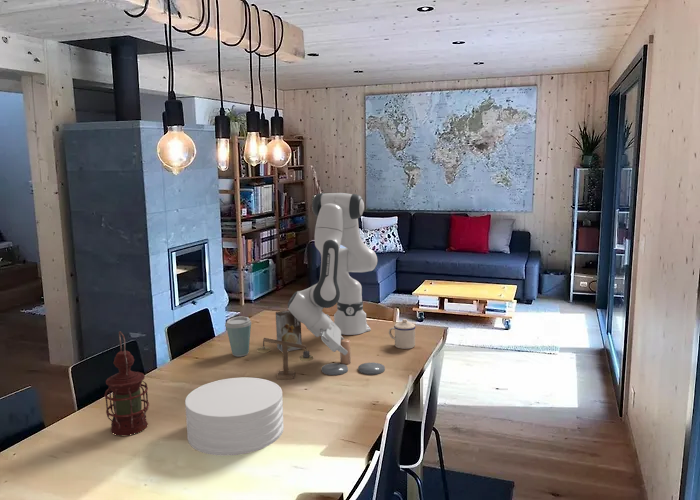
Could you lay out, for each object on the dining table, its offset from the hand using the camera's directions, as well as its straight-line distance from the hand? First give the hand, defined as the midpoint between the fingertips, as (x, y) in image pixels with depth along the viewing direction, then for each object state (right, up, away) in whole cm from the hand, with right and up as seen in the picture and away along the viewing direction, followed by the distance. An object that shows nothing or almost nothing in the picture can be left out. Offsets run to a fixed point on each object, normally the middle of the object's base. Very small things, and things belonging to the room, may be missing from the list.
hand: (346, 349), depth 224 cm
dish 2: (+9, -6, -7) cm, 13 cm away
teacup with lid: (+24, -2, +21) cm, 31 cm away
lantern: (-66, -15, -51) cm, 84 cm away
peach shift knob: (-1, -5, +1) cm, 5 cm away
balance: (-23, -8, -12) cm, 27 cm away
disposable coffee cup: (-44, -4, +13) cm, 47 cm away
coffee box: (-24, -3, +19) cm, 31 cm away
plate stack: (-33, -15, -54) cm, 65 cm away
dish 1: (-5, -7, -7) cm, 11 cm away
